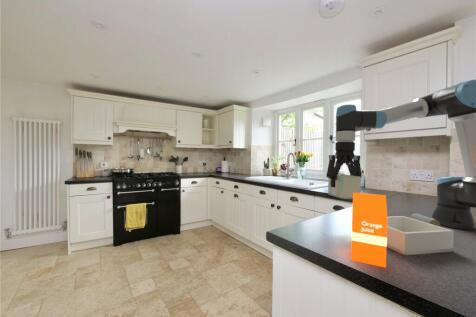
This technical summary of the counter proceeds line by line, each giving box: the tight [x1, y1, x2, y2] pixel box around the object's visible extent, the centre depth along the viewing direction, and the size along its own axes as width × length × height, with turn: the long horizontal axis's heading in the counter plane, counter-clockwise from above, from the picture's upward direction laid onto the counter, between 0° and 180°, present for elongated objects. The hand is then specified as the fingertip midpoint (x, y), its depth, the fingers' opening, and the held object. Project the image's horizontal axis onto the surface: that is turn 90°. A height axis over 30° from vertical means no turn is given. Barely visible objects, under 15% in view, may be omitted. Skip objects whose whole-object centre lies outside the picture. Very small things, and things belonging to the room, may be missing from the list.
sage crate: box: [327, 174, 362, 200], centre depth 92 cm, size 8×10×9 cm
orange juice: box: [350, 192, 389, 268], centre depth 66 cm, size 8×9×20 cm
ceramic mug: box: [409, 212, 441, 227], centre depth 90 cm, size 11×8×8 cm
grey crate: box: [387, 215, 455, 256], centre depth 80 cm, size 20×18×7 cm
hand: (343, 194), depth 92 cm, fingers closed on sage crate, 8 cm apart
